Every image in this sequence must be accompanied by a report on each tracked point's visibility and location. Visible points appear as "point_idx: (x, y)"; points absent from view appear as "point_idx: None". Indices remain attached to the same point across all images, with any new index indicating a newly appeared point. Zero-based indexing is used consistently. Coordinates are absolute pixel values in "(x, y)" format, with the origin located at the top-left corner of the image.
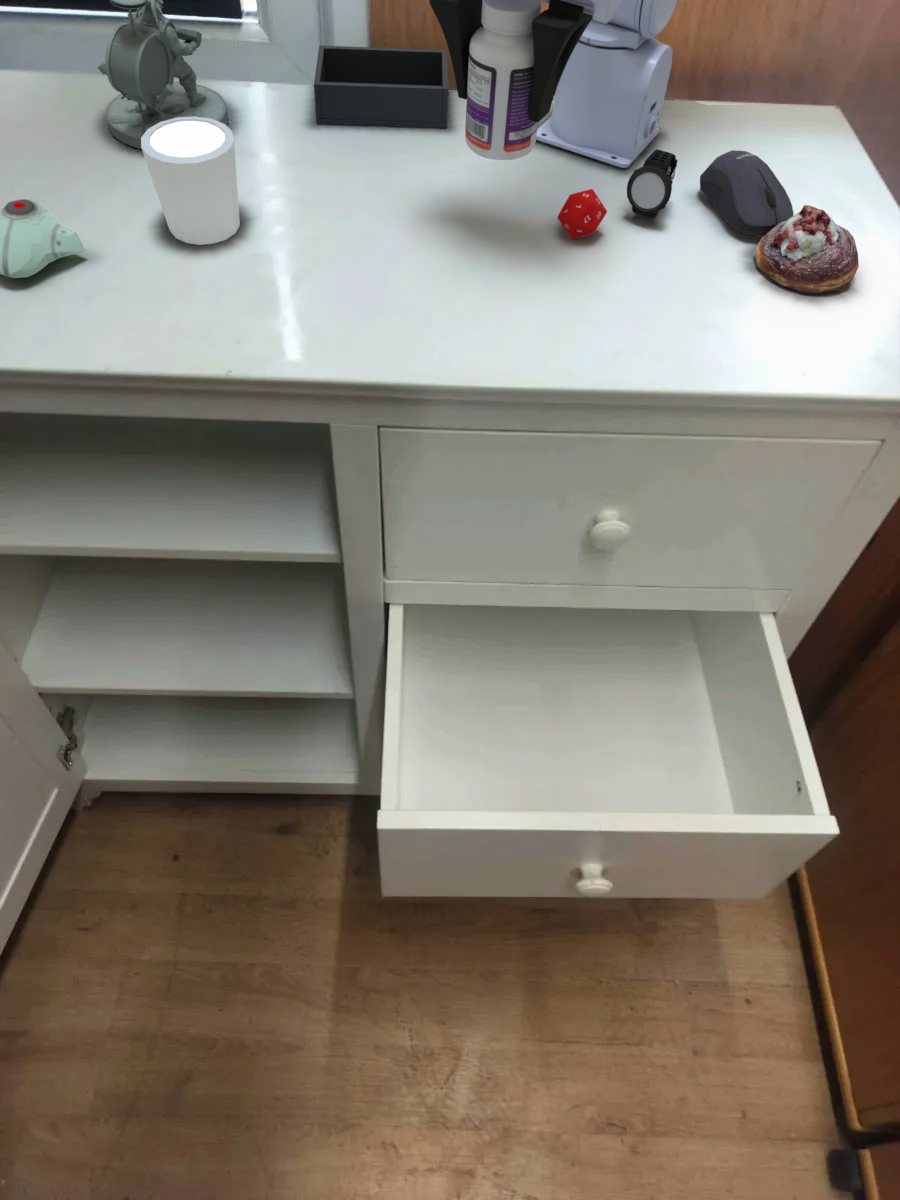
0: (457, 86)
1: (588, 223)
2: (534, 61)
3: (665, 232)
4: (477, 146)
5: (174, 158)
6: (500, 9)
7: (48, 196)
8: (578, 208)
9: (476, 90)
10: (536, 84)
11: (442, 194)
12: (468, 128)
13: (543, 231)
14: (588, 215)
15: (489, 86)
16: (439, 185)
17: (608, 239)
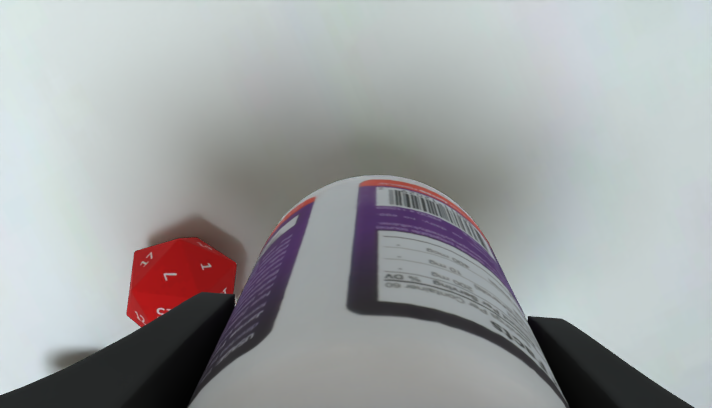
0: (580, 332)
1: (145, 254)
2: (117, 405)
3: (42, 354)
4: (414, 184)
5: None
6: None
7: None
8: (168, 270)
9: (457, 265)
10: (153, 351)
11: (542, 262)
12: (471, 225)
13: (268, 237)
14: (144, 266)
15: (385, 270)
16: (563, 292)
17: (130, 276)
